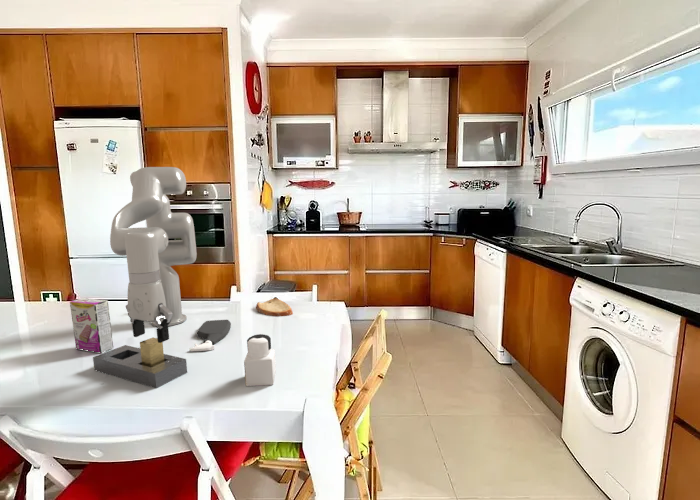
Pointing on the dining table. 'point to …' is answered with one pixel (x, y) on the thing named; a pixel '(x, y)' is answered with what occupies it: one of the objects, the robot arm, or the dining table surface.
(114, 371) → the grey peg hole block
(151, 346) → the brass peg
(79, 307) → the candy bar box
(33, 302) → the dining table surface
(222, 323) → the spray bottle
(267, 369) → the medicine bottle
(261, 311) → the slice of bread
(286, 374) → the dining table surface
